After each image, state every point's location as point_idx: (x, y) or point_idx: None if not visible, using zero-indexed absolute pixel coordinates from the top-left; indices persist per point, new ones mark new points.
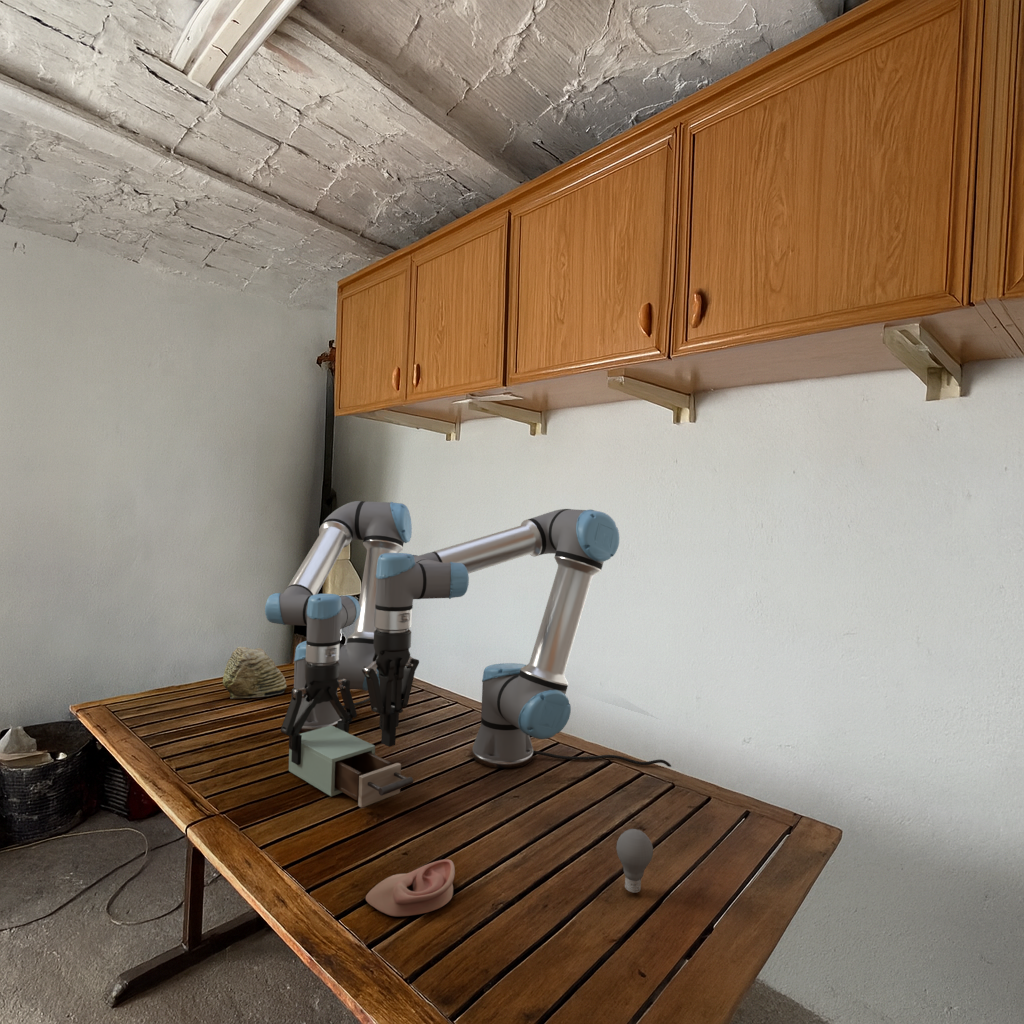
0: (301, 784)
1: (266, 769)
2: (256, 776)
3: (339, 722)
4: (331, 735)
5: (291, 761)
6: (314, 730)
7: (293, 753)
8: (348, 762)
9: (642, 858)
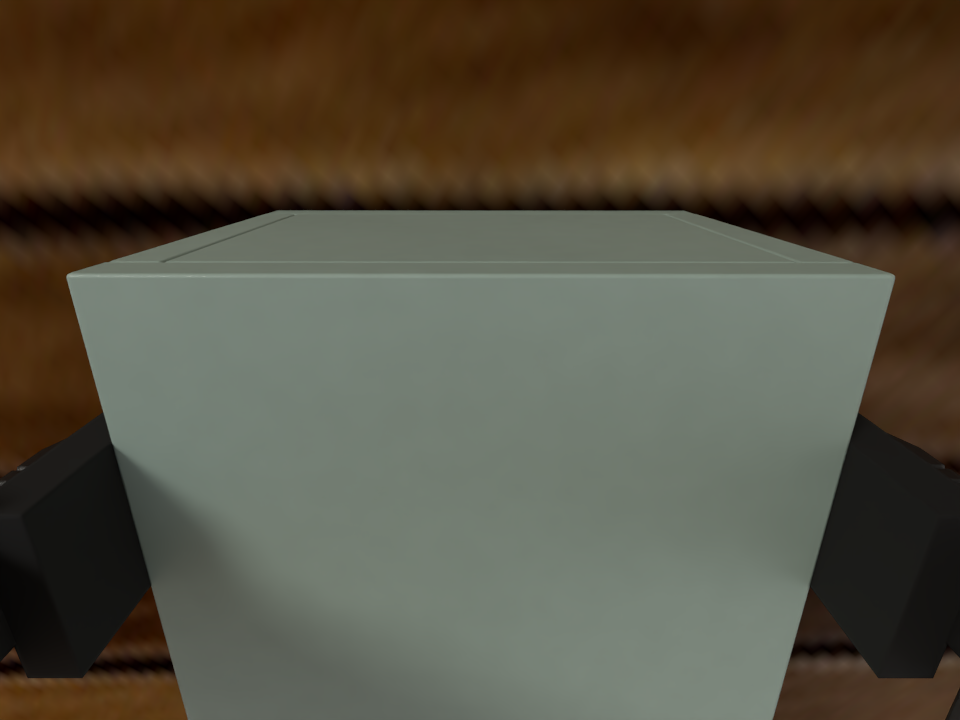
0: None
1: (118, 33)
2: (5, 122)
3: (910, 563)
4: (585, 618)
5: None
6: (527, 306)
7: None
8: None
9: None
